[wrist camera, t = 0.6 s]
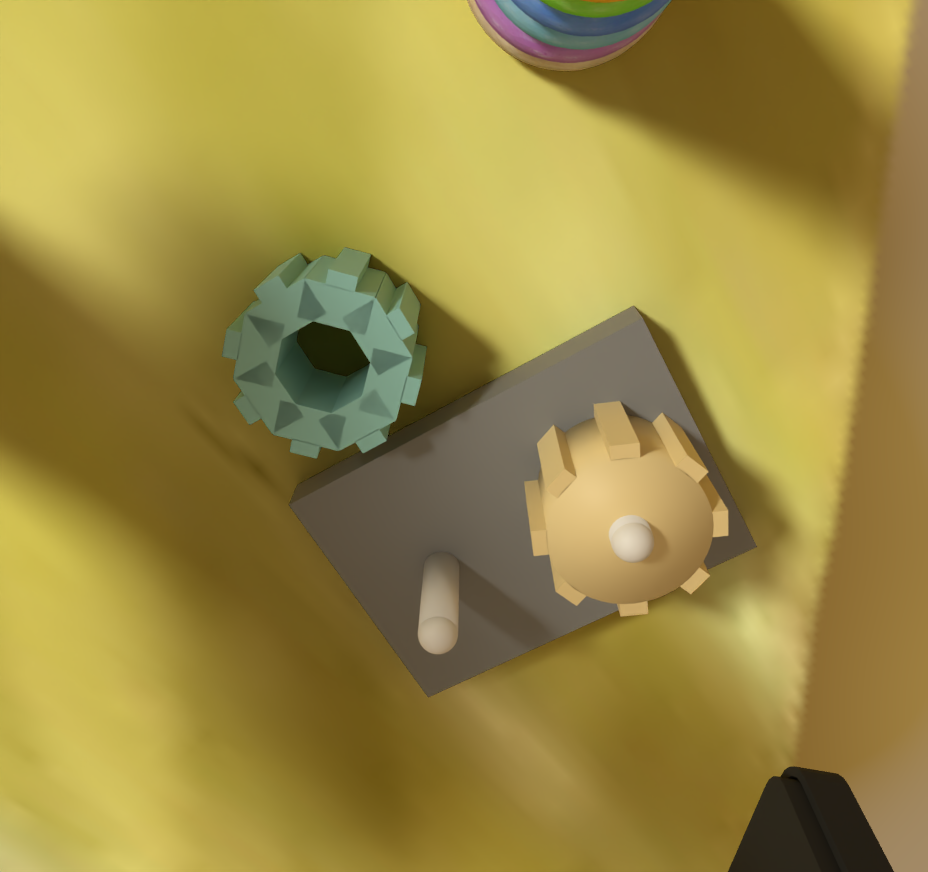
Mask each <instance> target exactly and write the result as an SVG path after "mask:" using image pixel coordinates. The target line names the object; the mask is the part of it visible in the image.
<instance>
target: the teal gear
mask: <svg viewBox="0 0 928 872" xmlns="http://www.w3.org/2000/svg"><path fill="white" fill-rule="evenodd" d="M370 257H371V254H368V253H364V252H360V251H357V250H353V249H350V248H346V247H345V248H344V249H343V250H342V252H341V253H340V254H339V256H338V257H337V258H332V257H328V256H325V255H324V256H321V257H320V258H318V259H316V260H315V261H313V262H311V263H309V264H307V262H306V261H305V259H304V258H303V256H302V255H301V253H299V254H298V255H296V256H294V257H293V258H291V259H289V260H288V261H286V262H284V263H282V264H281V265H279V266H278V267H277V268H276V269H275V270H274V271H273V272H272V273H271V274H270V275H269V276H267V277H266V278H265V279H264V280H263V281H262V282H261V283H260V284H259V285H258V286H257V287H256V288H255V289H254V292H255V293H256V295H257V296H258V298H259V299H258V300H257V301H253V303H252V304H251V305H250V306H249V307H248V308H247V309H246V310H245V311H244V312H243V313H242V314H241V315H240V316H239V317H238V318H237V319H236V320H235V321H234V322H233V323H232V324H231V325H230V326H229V327H228V328H227V330H226V336H225V341H224V347H223V353H222V356H223V357H226V358H230V359H234V360H236V365H235V370H234V376H233V378H234V379H233V380H234V381H235V382H236V384H237V385H238V387H239V388H240V389H241V392H240V393H239V395H238V396H237V397H236V399H235V400H234V402H233V403H234V404H235V405H236V407H237V408H238V410H239V411H240V412H241V414H242V415H243V417H244V418H245V419H246V421H247V422H248V424H249V425H251V424H253V423H254V422H256V421H258V420H260V419H262V420H263V422H264V423H265V425H266V426H267V428H268V429H269V430H270V432H271V433H272V434H273V435H276V436H280V437H284V438H288V439H292V442H291V447H290V452H292V453H296V454H300V455H304V456H308V457H312V458H316V459H317V457H318V454H319V452H320V449H321V447H324V448H328V449H332V450H336V451H338V450H339V451H340V450H342V449H344V448H346V447H348V446H350V445H351V444H353V443H356V444H357V445H358V447H359V448H360V450H361V451H362V453H365V452H367V451H369V450H370V449H372V448H374V447H376V446H378V445H380V444H382V443H384V442H386V441H387V437H388V433H389V428H390V424H391V423H392V422H394V421H396V419H397V415H398V412H399V408H400V404H401V403H405V404H409V405H413V406H415V403H416V400H417V396H418V392H419V388H420V385H421V381H422V375H423V369H424V363H425V356H426V350H427V347H426V346H423V345H419V344H416V339H417V334H418V329H419V325H418V324H417V320H418V315H419V311H420V306H421V304H420V302H419V301H418V299H417V297H416V296H415V294H414V292H413V291H412V289H411V287H410V286H409V284H408V282H406V283H405V284H403V285H401V286H399V287H398V288H396V287H395V286H394V284H393V283H392V281H391V279H390V278H389V276H388V274H387V273H386V272H383V271H380V270H376V269H372V268H369V267H368V265H369V261H370ZM313 321H314V322H318V323H321V324H325V325H329V326H333V327H337V328H340V329H344V330H348V331H350V332H351V333H352V335H353V336H354V338H355V339H356V341H357V343H358V344H359V346H360V347H361V349H362V350H363V352H364V354H365V355H366V357H367V358H368V360H369V361H370V364H368V365H367V366H365V367H363V368H361V369H359V370H358V371H356V372H354V373H352V374H350V375H349V376H347V377H346V376H342V375H338V374H334V373H330V372H326V371H323V370H319V369H315V368H314V367H313V365H312V364H311V362H310V361H309V359H308V358H307V356H306V355H305V353H304V352H303V350H302V349H301V347H300V346H299V344H298V343H297V336H298V331H299V329H300V328H302V327H304V326H306V325H307V324H309V323H311V322H313Z"/></svg>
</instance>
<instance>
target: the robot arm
mask: <svg viewBox="0 0 928 872" xmlns="http://www.w3.org/2000/svg"><path fill="white" fill-rule="evenodd" d="M728 872H894V871H893V869H892V867H891V865H890V863H889V862H888V860H887V858H886V856H885V854H884V852H883V850H882V848H881V846H880V844H879V842H878V840H877V839H876V837H875V835H874V833H873V831H872V829H871V827H870V826H869V823H868V822H867V819H866V818H865V816H864V814H863V812H862V810H861V808H860V806H859V804H858V803H857V800H856V798H855V797H854V795H853V793H852V791H851V789H850V787H849V785H848V784H847V782H846V781H845V779H844V778H843V777H841V776H840V775H839V774H836V773H830V772H824V771H818V770H812V769H806V768H800V767H788V768H787V769H786V770H784V772H783V774H782V775H781V777H777V776H773V777H772V778H770V779H769V781H768V782H767V784H766V786H765V788H764V791H763V793H762V795H761V798H760V800H759V802H758V804H757V807H756V809H755V811H754V814H753V816H752V818H751V820H750V823H749V825H748V827H747V830H746V832H745V834H744V836H743V839H742V841H741V843H740V846H739V848H738V850H737V853H736V855H735V857H734V859H733V862H732V864H731V866H730V869H729V871H728Z"/></svg>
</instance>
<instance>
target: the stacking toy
mask: <svg viewBox="0 0 928 872" xmlns="http://www.w3.org/2000/svg"><path fill="white" fill-rule="evenodd" d="M467 1H468V4H469V6H470V9H471V11H472V12H473V14H474V16H475V18H476V19H477V21H478V23H479V24H480V25H481V27H482V28H483V30H484V31H485V33H486V34H487V35H488V36H489V37H490V38H491V39H492V40H493V41H494V42H495V43H496V44H497V45H498V46H499V47H500V48H502V49H503V50H504V51H505V52H507V53H508V54H510V55H511V56H513V57H515V58H516V59H518V60H520V61H522V62H524V63H527V64H530V65H533V66H536V67H538V68H543V69H549V70H555V71H575V70H583V69H587V68H591V67H594V66H597V65H600V64H603V63H605V62H608V61H610V60H612V59H614V58H616V57H617V56H619V55H621V54H622V53H624V52H625V51H627V50H628V49H629V48H631V47H632V46H633V45H634V44H636V43H637V42H638V41H639V40H640V39H641V38H642V37H643V36H644V35H645V34H646V33H647V32H648V31H649V30H650V29H651V28H652V27H653V25H654V24H655V23H656V21H657V20H658V19H659V17H660V16H661V14H662V12H663V11H664V9H665V8H666V7H667V5H668V4H669V3H670V2H671V0H467Z"/></svg>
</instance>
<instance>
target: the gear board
mask: <svg viewBox="0 0 928 872" xmlns="http://www.w3.org/2000/svg"><path fill="white" fill-rule="evenodd" d="M289 506H290V508H291V509H292V510H293V512H294V513H295V514H296V516H297V517H298V519H299V520H300V521H301V523H302V524H303V526H304V527H305V528H306V530H307V531H308V532H309V534H310V535H311V537H312V538H313V539H314V541H315V542H316V543H317V545H318V546H319V548H320V549H321V550H322V552H323V553H324V554H325V556H326V557H327V559H328V560H329V561H330V563H331V564H332V565H333V567H334V568H335V570H336V571H337V572H338V574H339V575H340V577H341V578H342V579H343V581H344V582H345V583H346V585H347V586H348V588H349V589H350V590H351V592H352V593H353V594H354V596H355V597H356V599H357V600H358V601H359V603H360V604H361V605H362V607H363V608H364V610H365V611H366V612H367V614H368V615H369V617H370V618H371V619H372V621H373V622H374V623H375V625H376V626H377V628H378V629H379V630H380V632H381V633H382V634H383V636H384V637H385V639H386V640H387V641H388V643H389V644H390V645H391V647H392V648H393V650H394V651H395V652H396V654H397V655H398V656H399V658H400V659H401V661H402V662H403V663H404V665H405V666H406V668H407V669H408V670H409V672H410V673H411V674H412V676H413V677H414V679H415V680H416V681H417V683H418V684H419V685H420V687H421V688H422V690H423V691H424V692H425V694H426V695H427V696H428V697H430V696H432V695H435V694H437V693H439V692H441V691H443V690H445V689H448V688H450V687H452V686H454V685H456V684H459V683H461V682H463V681H465V680H467V679H469V678H472V677H474V676H476V675H478V674H480V673H483V672H485V671H487V670H489V669H491V668H493V667H496V666H498V665H500V664H502V663H504V662H507V661H509V660H511V659H513V658H515V657H517V656H520V655H522V654H524V653H526V652H528V651H531V650H533V649H535V648H537V647H539V646H542V645H544V644H546V643H548V642H550V641H552V640H555V639H557V638H559V637H561V636H563V635H566V634H568V633H570V632H572V631H574V630H576V629H579V628H581V627H583V626H585V625H587V624H590V623H592V622H594V621H596V620H598V619H600V618H603V617H605V616H607V615H609V614H611V613H614V612H616V611H618V610H619V613H620V616H631V615H641V614H648V601H650V600H653V599H656V598H659V597H661V596H664V595H666V594H668V593H670V592H672V591H674V590H675V589H677V588H678V587H681V588H683V589H684V590H685V591H687V592H688V593H690V594H692V593H693V592H694V591H695V590H696V589H697V588H698V587H699V586H700V585H701V584H702V583H703V582H704V581H705V580H706V579H707V578H708V577H709V576H710V574H709V572H708V570H707V569H710V568H712V567H714V566H716V565H718V564H721V563H723V562H725V561H727V560H729V559H731V558H734V557H736V556H738V555H740V554H742V553H745V552H747V551H749V550H751V549H753V548H755V547H757V546H756V544H755V542H754V540H753V538H752V536H751V534H750V532H749V530H748V528H747V526H746V524H745V522H744V520H743V518H742V516H741V514H740V512H739V510H738V508H737V506H736V504H735V502H734V500H733V498H732V496H731V494H730V492H729V490H728V488H727V486H726V484H725V482H724V480H723V478H722V476H721V474H720V472H719V470H718V468H717V466H716V464H715V462H714V460H713V458H712V456H711V454H710V452H709V450H708V448H707V446H706V444H705V442H704V440H703V438H702V436H701V434H700V432H699V430H698V428H697V426H696V424H695V422H694V420H693V418H692V416H691V414H690V412H689V410H688V408H687V406H686V404H685V402H684V400H683V398H682V396H681V394H680V392H679V390H678V388H677V386H676V384H675V382H674V380H673V378H672V376H671V374H670V372H669V370H668V368H667V366H666V364H665V362H664V360H663V358H662V356H661V354H660V352H659V350H658V348H657V346H656V344H655V342H654V340H653V338H652V336H651V334H650V332H649V330H648V328H647V326H646V324H645V322H644V320H643V318H642V316H641V315H640V314H639V312H638V311H637V310H636V308H635V307H634V306H632V307H630V308H628V309H626V310H625V311H623V312H621V313H619V314H617V315H615V316H613V317H611V318H610V319H608V320H606V321H604V322H602V323H600V324H598V325H596V326H595V327H593V328H591V329H589V330H587V331H585V332H583V333H581V334H580V335H578V336H576V337H574V338H572V339H570V340H568V341H566V342H565V343H563V344H561V345H559V346H557V347H555V348H553V349H551V350H550V351H548V352H546V353H544V354H542V355H540V356H538V357H536V358H535V359H533V360H531V361H529V362H527V363H525V364H523V365H521V366H519V367H518V368H516V369H514V370H512V371H510V372H508V373H506V374H504V375H503V376H501V377H499V378H497V379H495V380H493V381H491V382H489V383H488V384H486V385H484V386H482V387H480V388H478V389H476V390H474V391H473V392H471V393H469V394H467V395H465V396H463V397H461V398H459V399H458V400H456V401H454V402H452V403H450V404H448V405H446V406H444V407H443V408H441V409H439V410H437V411H435V412H433V413H431V414H429V415H428V416H426V417H424V418H422V419H420V420H418V421H416V422H414V423H413V424H411V425H409V426H407V427H405V428H403V429H401V430H399V431H398V432H396V433H394V434H392V435H390V436H388V437H387V441H386V442H384V443H382V444H380V445H378V446H376V447H374V448H372V449H370V450H369V451H367V452H365V453H362V451H360V452H358V453H356V454H354V455H353V456H351V457H349V458H347V459H345V460H343V461H341V462H339V463H338V464H336V465H334V466H332V467H330V468H328V469H326V470H324V471H323V472H321V473H319V474H317V475H315V476H313V477H311V478H309V479H308V480H306V481H304V482H302V483H300V484H298V485H297V487H296V489H295V491H294V494H293V496H292V498H291V501H290V503H289Z"/></svg>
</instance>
